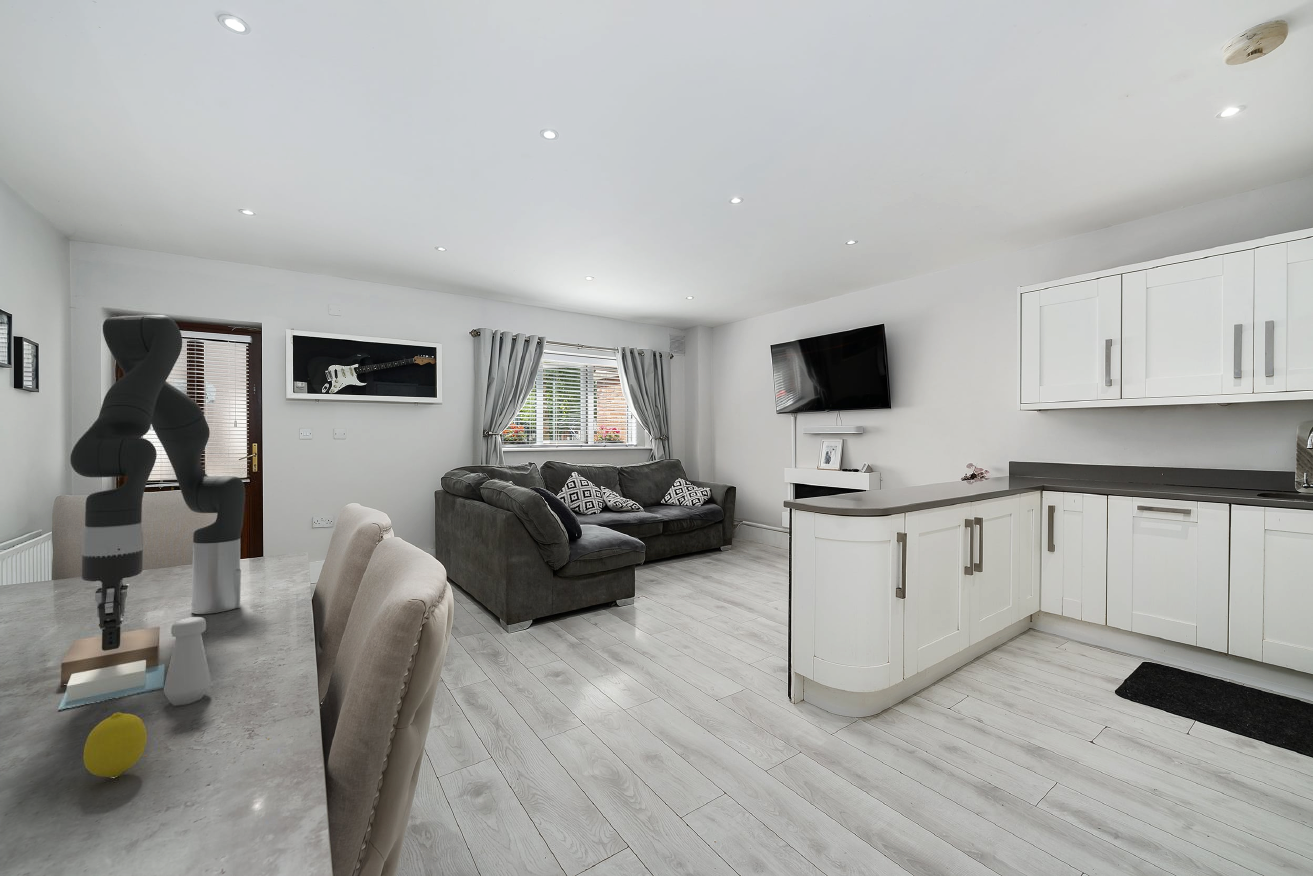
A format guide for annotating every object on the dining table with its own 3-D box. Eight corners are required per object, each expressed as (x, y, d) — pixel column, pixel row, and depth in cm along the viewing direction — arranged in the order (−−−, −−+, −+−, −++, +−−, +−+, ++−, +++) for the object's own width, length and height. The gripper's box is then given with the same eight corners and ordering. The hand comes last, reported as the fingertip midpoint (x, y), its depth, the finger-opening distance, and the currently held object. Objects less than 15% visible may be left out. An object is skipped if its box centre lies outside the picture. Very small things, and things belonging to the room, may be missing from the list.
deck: (159, 646, 109) (159, 626, 109) (157, 667, 99) (157, 645, 99) (72, 661, 101) (73, 640, 101) (60, 686, 91) (61, 663, 91)
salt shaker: (219, 694, 88) (220, 616, 89) (178, 711, 83) (180, 627, 83) (195, 689, 90) (197, 612, 90) (154, 704, 85) (156, 622, 85)
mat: (164, 666, 99) (164, 664, 99) (163, 688, 91) (163, 686, 91) (69, 685, 91) (69, 683, 91) (57, 711, 83) (57, 709, 83)
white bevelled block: (144, 670, 91) (144, 685, 91) (146, 659, 95) (145, 673, 95) (66, 686, 85) (66, 702, 85) (71, 674, 89) (71, 689, 89)
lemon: (111, 765, 69) (113, 703, 69) (157, 763, 69) (159, 701, 69) (68, 793, 63) (69, 725, 63) (118, 791, 64) (120, 723, 64)
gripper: (140, 553, 92) (138, 654, 92) (144, 542, 102) (142, 633, 102) (77, 559, 87) (74, 666, 87) (87, 547, 97) (84, 643, 97)
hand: (111, 648), depth 94 cm, fingers closed
